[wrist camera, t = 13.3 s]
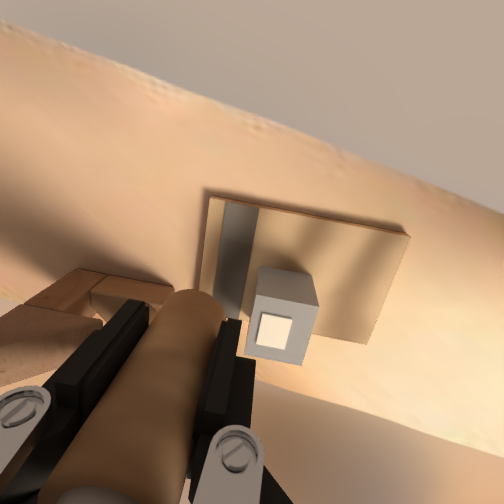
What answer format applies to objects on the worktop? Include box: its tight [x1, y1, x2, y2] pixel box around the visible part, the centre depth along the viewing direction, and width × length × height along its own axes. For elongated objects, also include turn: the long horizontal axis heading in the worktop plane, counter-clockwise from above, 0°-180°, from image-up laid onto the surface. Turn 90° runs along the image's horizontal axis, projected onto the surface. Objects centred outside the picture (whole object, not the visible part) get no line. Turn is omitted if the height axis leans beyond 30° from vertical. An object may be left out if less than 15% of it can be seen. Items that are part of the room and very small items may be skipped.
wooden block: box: [0, 269, 174, 387], centre depth 23 cm, size 4×11×18 cm, turn 81°
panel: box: [199, 196, 411, 345], centre depth 28 cm, size 18×12×1 cm, turn 80°
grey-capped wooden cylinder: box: [38, 289, 226, 504], centre depth 8 cm, size 3×3×9 cm
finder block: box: [244, 266, 319, 366], centre depth 26 cm, size 5×6×6 cm
